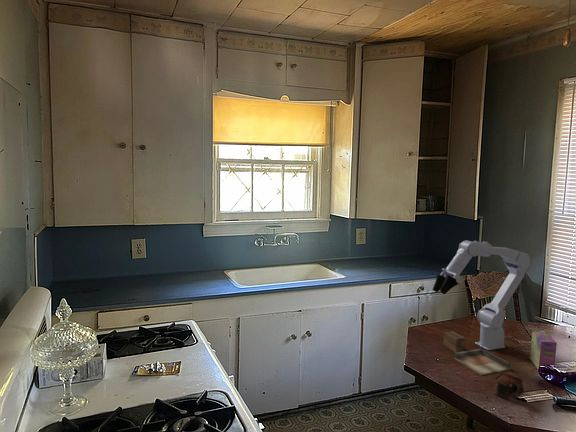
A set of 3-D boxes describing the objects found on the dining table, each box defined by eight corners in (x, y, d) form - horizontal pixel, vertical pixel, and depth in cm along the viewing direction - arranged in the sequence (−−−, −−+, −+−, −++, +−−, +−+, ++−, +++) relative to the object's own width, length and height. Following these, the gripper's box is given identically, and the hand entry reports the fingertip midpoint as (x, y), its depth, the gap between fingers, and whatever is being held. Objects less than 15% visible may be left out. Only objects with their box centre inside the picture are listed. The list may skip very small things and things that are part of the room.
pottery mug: (485, 390, 160) (492, 368, 162) (507, 400, 161) (514, 378, 163) (508, 399, 148) (516, 375, 150) (532, 410, 150) (539, 385, 151)
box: (554, 372, 174) (557, 342, 172) (538, 370, 175) (540, 341, 173) (545, 360, 184) (547, 332, 182) (529, 359, 185) (531, 331, 183)
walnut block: (451, 344, 200) (452, 331, 199) (464, 351, 192) (465, 337, 192) (443, 345, 198) (443, 332, 198) (455, 352, 191) (456, 339, 190)
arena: (481, 354, 189) (482, 348, 189) (510, 369, 175) (510, 363, 175) (454, 358, 185) (454, 352, 184) (481, 375, 171) (481, 368, 170)
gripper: (442, 259, 195) (424, 284, 194) (456, 260, 181) (437, 287, 180) (455, 269, 195) (437, 294, 194) (470, 270, 181) (451, 298, 180)
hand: (438, 291), depth 187 cm, fingers open, 7 cm apart
